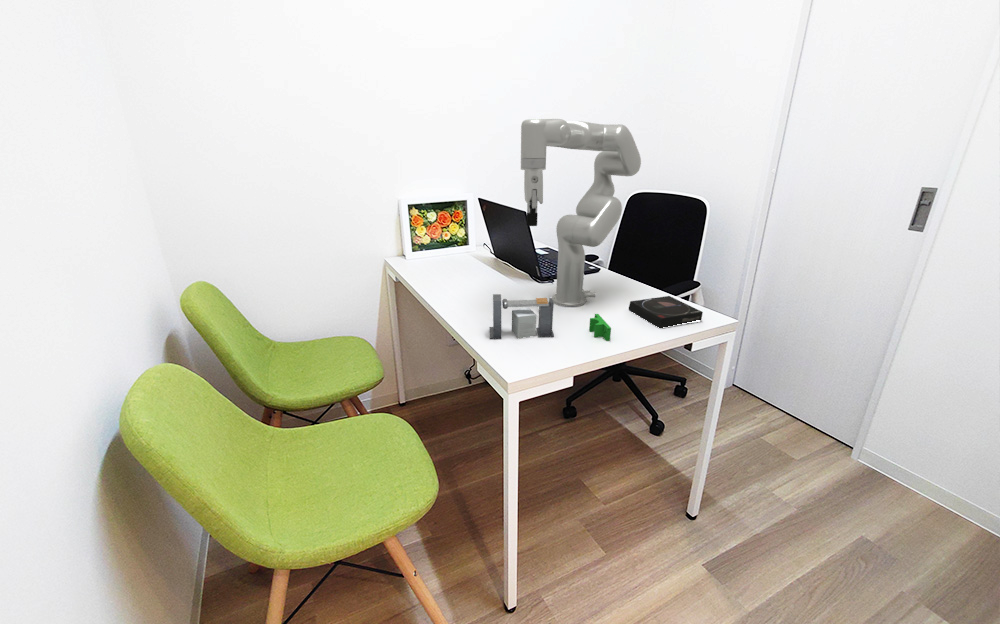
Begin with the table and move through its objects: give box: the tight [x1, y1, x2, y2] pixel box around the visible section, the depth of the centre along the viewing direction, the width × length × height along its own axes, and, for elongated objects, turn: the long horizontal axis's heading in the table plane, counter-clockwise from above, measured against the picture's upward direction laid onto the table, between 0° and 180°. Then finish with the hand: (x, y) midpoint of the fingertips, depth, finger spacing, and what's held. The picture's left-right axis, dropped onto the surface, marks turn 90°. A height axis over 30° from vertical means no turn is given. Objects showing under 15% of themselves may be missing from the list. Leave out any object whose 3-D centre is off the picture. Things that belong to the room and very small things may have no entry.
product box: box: [511, 307, 537, 339], centre depth 137 cm, size 6×6×7 cm
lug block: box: [536, 297, 555, 338], centre depth 136 cm, size 5×6×11 cm
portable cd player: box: [628, 295, 704, 329], centre depth 151 cm, size 16×17×4 cm
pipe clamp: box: [588, 313, 612, 342], centre depth 137 cm, size 11×4×5 cm, turn 8°
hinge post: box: [489, 293, 502, 340], centre depth 136 cm, size 4×8×12 cm, turn 2°
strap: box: [501, 297, 549, 310], centre depth 134 cm, size 14×4×2 cm, turn 92°
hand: (531, 225), depth 140 cm, fingers closed
